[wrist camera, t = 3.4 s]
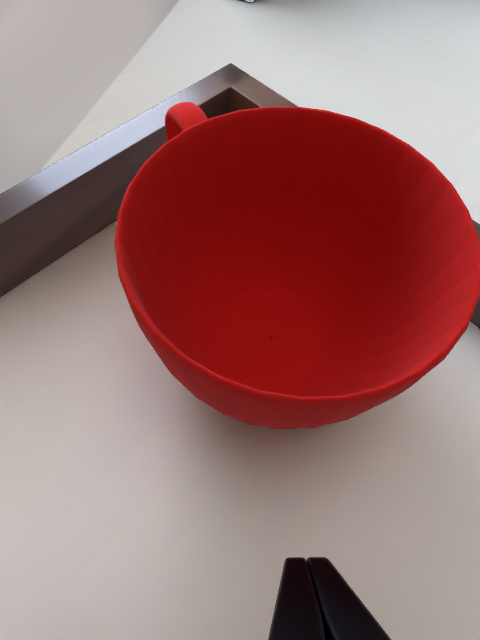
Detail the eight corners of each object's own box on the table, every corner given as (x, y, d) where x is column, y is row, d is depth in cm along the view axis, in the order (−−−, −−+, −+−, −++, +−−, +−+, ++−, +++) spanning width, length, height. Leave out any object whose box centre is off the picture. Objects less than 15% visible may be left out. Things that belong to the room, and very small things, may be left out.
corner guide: (541, 342, 24) (604, 304, 20) (295, 691, 17) (319, 739, 13) (229, 121, 32) (230, 62, 28) (-37, 291, 24) (-88, 243, 20)
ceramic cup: (268, 181, 29) (288, 27, 20) (433, 382, 23) (567, 285, 14) (92, 254, 26) (24, 108, 17) (227, 514, 20) (233, 497, 11)
